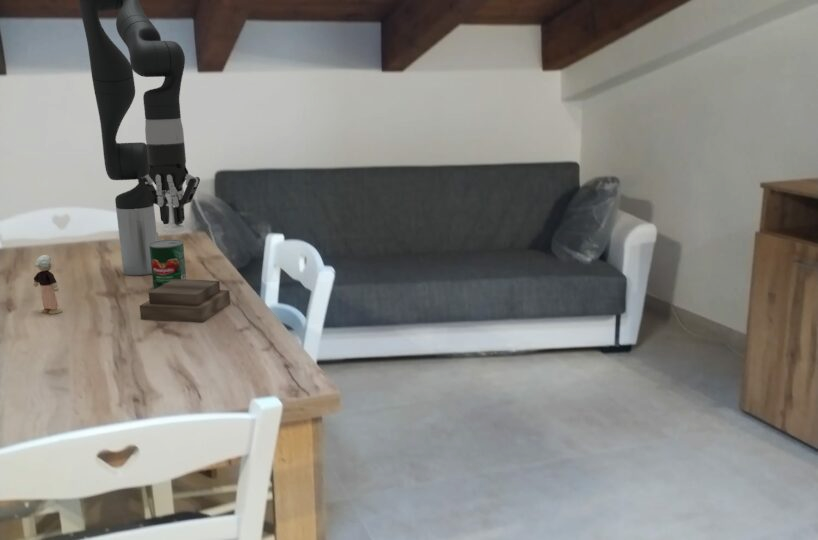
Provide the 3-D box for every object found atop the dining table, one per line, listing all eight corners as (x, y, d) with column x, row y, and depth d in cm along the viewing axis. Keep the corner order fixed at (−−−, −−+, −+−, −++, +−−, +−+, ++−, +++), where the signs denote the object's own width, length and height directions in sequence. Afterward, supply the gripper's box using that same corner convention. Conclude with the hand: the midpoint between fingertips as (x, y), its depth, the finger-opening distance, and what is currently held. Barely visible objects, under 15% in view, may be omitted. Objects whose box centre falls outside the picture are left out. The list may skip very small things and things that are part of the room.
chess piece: (178, 233, 166) (173, 185, 163) (157, 233, 167) (151, 185, 165) (190, 228, 170) (185, 182, 168) (169, 228, 172) (163, 182, 169)
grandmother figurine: (70, 310, 175) (63, 254, 172) (58, 315, 172) (50, 258, 169) (43, 307, 178) (35, 252, 175) (29, 312, 174) (21, 256, 171)
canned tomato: (155, 293, 187) (150, 248, 184) (151, 285, 194) (146, 241, 191) (189, 289, 190) (185, 244, 188) (184, 281, 197) (180, 238, 195)
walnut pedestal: (173, 300, 182) (170, 276, 180) (230, 302, 179) (228, 279, 177) (140, 319, 168) (138, 294, 167) (202, 322, 166) (200, 297, 164)
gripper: (204, 139, 166) (211, 221, 170) (144, 139, 169) (152, 219, 174) (187, 142, 159) (194, 227, 163) (125, 142, 162) (134, 226, 166)
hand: (173, 223), depth 168 cm, fingers closed on chess piece
